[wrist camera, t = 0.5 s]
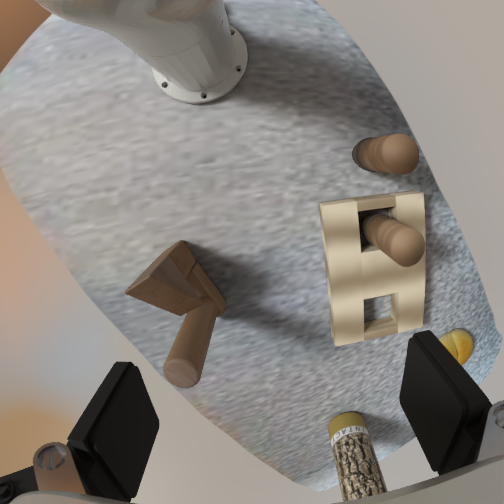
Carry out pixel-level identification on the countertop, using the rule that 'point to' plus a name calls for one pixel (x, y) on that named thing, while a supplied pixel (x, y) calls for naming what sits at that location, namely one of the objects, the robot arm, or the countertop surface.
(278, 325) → the countertop surface
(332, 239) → the socket board
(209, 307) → the brown wooden angled piece
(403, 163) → the walnut peg
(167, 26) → the robot arm
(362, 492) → the paper tube
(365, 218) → the seated peg
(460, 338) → the bread roll
